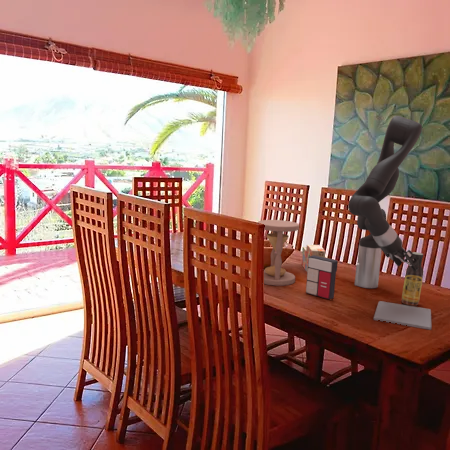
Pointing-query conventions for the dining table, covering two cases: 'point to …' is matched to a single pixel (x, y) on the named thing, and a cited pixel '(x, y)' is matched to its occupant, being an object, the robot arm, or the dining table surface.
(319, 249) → the cardboard box
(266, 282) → the hourglass
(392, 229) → the robot arm
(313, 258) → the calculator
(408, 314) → the slate mat
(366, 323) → the dining table surface
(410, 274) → the sauce bottle
